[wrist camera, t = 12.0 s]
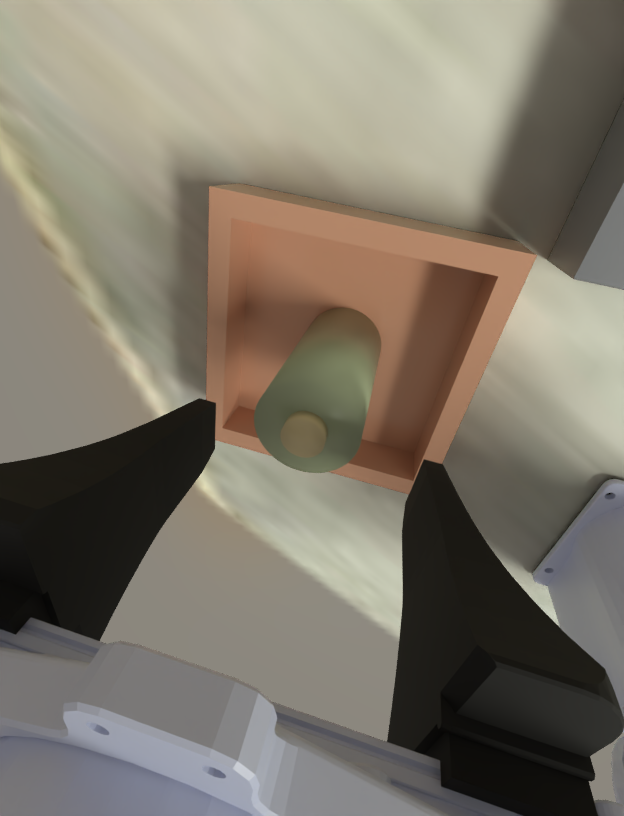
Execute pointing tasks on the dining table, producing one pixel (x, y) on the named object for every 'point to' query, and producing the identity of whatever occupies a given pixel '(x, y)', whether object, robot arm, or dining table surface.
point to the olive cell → (321, 394)
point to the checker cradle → (597, 218)
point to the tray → (365, 292)
